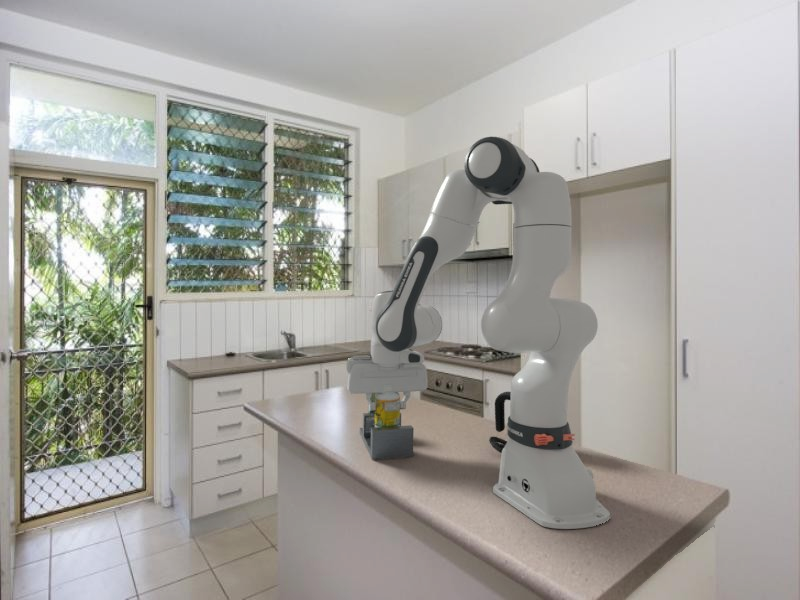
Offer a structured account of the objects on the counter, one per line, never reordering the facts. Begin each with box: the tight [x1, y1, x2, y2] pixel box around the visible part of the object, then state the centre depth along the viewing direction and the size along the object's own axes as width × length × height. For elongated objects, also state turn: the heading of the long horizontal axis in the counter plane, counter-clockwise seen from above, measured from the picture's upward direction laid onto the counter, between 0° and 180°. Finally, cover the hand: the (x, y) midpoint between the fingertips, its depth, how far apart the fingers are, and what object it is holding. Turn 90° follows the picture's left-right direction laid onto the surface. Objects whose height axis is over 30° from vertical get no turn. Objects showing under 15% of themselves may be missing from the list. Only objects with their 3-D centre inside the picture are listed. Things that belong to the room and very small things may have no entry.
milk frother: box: [488, 391, 511, 454], centre depth 114 cm, size 14×16×15 cm
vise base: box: [359, 424, 414, 461], centre depth 116 cm, size 20×10×7 cm, turn 14°
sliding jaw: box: [362, 393, 402, 436], centre depth 122 cm, size 9×10×12 cm
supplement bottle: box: [375, 384, 401, 427], centre depth 113 cm, size 6×6×11 cm
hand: (387, 409), depth 113 cm, fingers closed on supplement bottle, 6 cm apart
